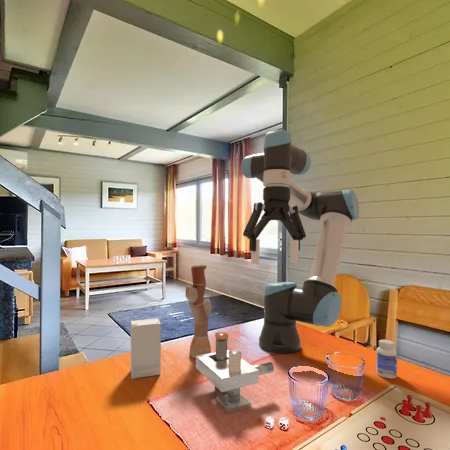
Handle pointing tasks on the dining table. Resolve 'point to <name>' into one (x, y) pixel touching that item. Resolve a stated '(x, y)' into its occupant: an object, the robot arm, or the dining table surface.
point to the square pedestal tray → (231, 377)
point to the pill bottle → (386, 359)
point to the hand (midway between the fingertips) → (275, 263)
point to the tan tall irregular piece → (199, 312)
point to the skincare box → (145, 348)
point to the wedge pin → (221, 347)
